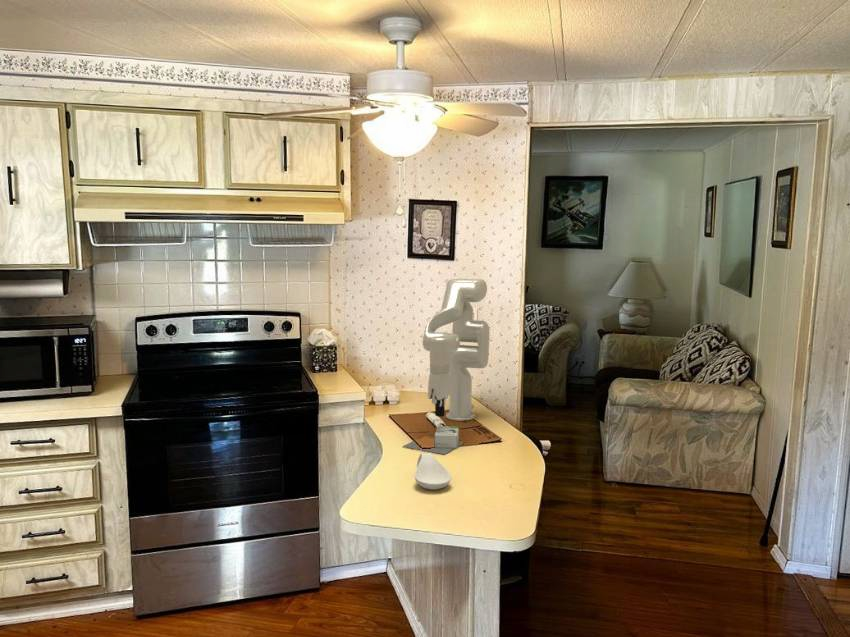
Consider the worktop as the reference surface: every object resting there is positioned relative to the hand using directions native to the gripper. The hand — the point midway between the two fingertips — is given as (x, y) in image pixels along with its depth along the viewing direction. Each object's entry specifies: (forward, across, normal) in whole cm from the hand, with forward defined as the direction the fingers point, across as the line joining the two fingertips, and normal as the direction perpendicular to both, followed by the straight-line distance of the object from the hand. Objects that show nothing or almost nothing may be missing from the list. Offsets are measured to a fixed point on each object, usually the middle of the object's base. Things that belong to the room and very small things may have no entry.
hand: (439, 415), depth 263 cm
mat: (+10, +5, 0) cm, 11 cm away
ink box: (+7, -4, +1) cm, 9 cm away
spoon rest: (+10, +37, +16) cm, 42 cm away
